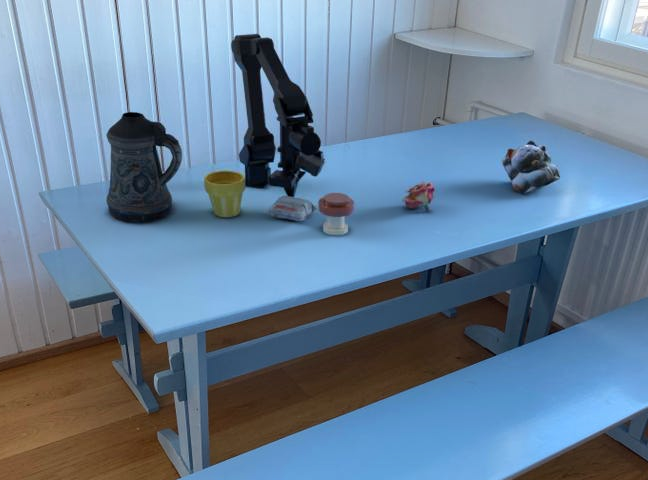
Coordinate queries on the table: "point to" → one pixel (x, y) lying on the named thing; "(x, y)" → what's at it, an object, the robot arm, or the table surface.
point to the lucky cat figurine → (530, 167)
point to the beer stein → (140, 169)
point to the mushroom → (335, 212)
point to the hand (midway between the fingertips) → (291, 199)
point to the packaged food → (291, 208)
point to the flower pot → (225, 191)
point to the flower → (419, 196)
